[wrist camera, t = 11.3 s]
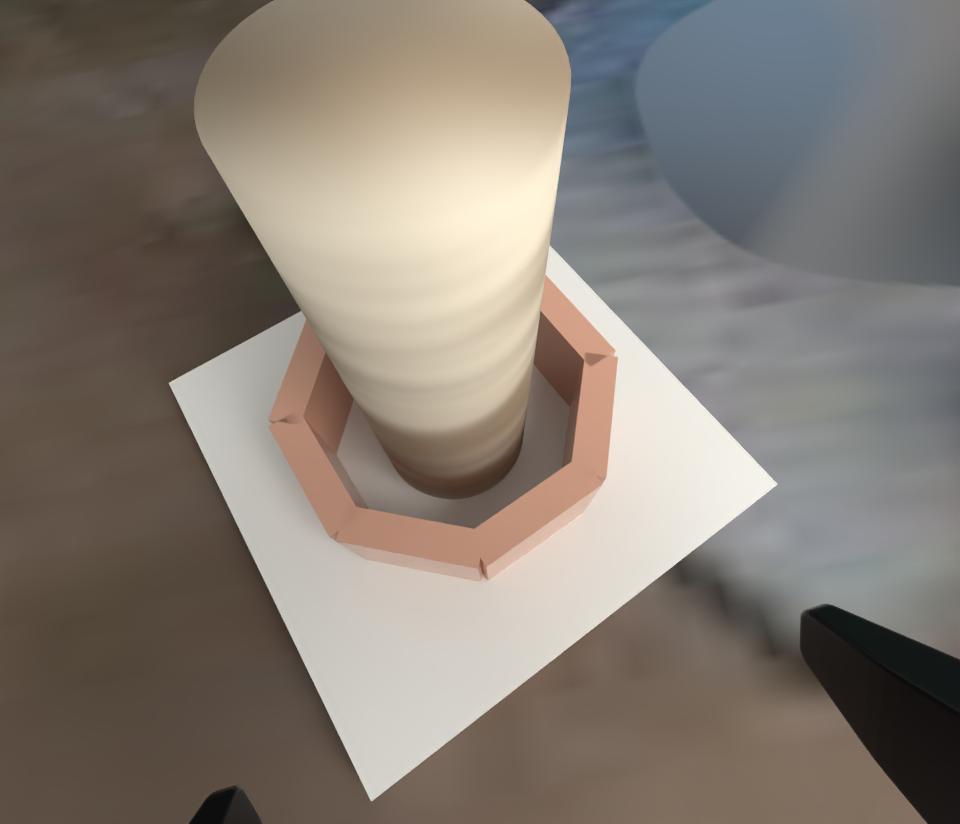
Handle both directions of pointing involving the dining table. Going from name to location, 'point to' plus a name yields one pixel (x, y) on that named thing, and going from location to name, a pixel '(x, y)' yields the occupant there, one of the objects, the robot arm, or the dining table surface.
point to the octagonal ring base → (460, 520)
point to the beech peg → (404, 205)
